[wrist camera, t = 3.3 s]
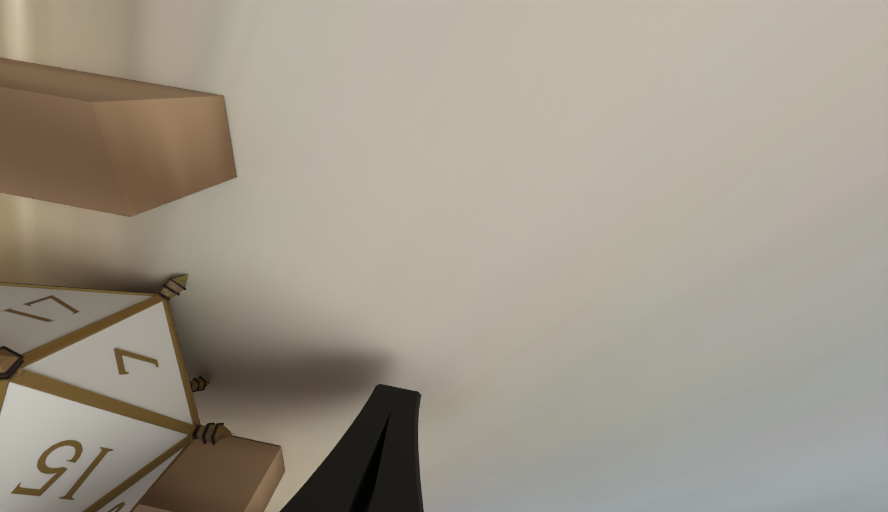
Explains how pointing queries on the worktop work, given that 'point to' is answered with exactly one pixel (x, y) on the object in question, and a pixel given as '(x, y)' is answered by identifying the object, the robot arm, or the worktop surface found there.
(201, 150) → the twin wooden rails
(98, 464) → the game die
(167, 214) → the worktop surface
